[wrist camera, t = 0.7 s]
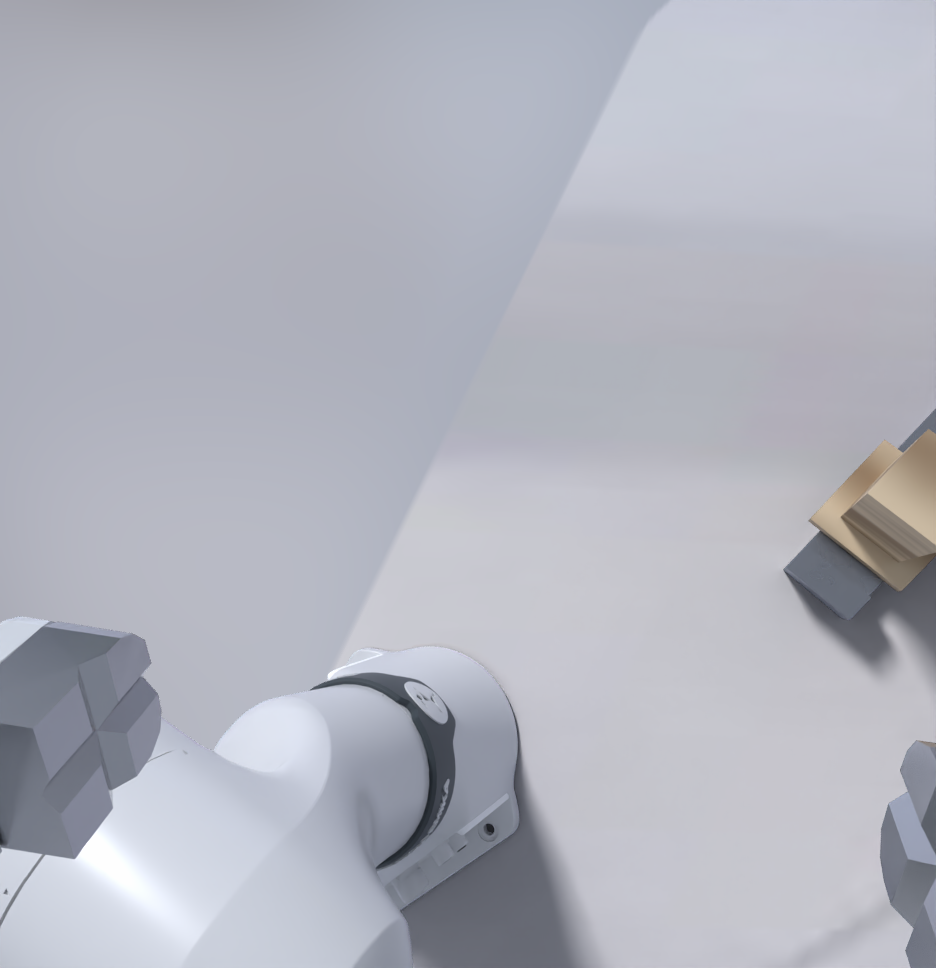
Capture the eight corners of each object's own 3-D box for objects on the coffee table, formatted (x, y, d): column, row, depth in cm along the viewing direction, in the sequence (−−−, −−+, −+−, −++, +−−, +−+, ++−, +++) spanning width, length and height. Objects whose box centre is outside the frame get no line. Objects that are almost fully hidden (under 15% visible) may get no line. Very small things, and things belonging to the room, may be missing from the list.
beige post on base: (897, 591, 51) (947, 587, 39) (808, 520, 54) (828, 495, 41) (974, 512, 50) (1051, 481, 38) (881, 443, 53) (924, 393, 40)
